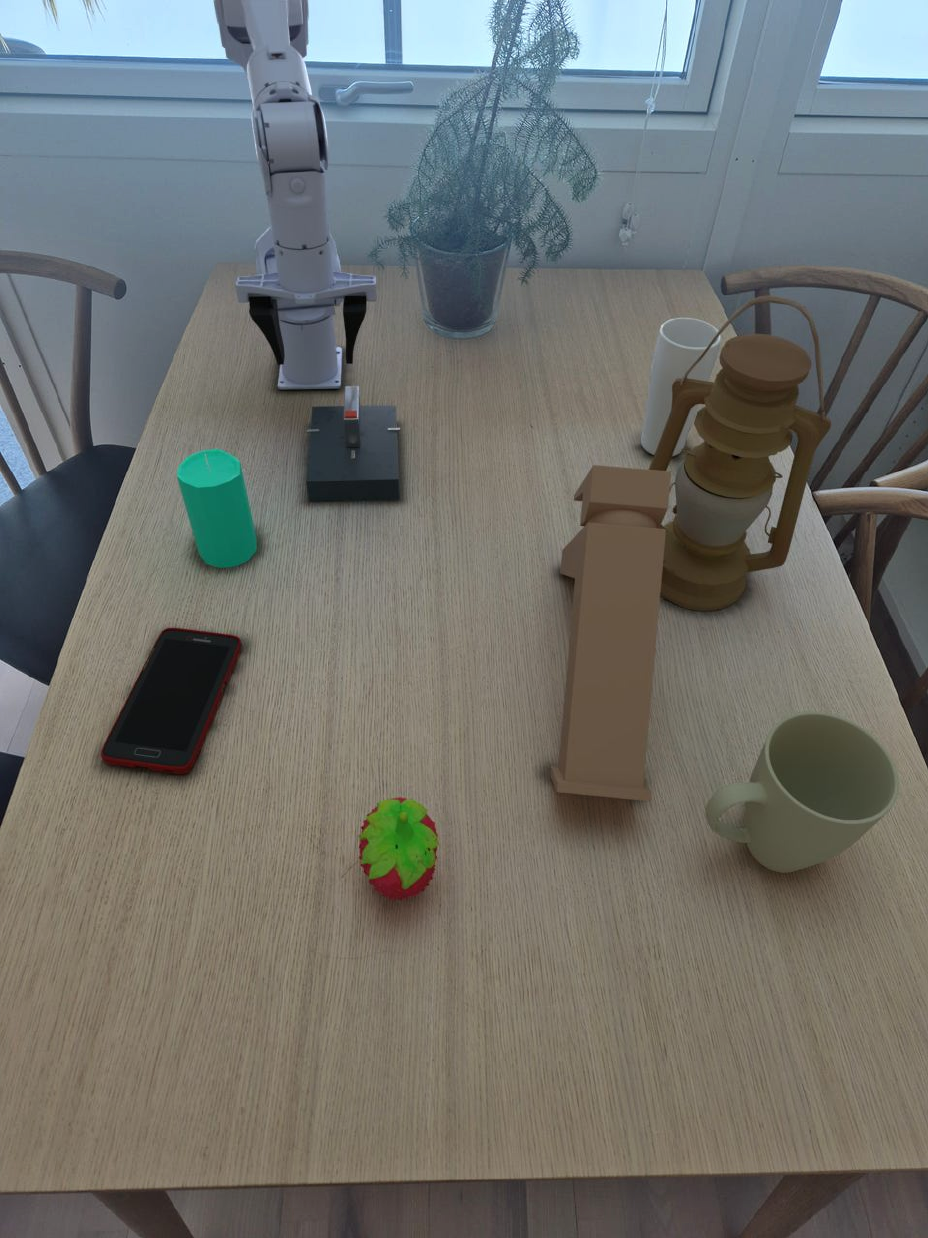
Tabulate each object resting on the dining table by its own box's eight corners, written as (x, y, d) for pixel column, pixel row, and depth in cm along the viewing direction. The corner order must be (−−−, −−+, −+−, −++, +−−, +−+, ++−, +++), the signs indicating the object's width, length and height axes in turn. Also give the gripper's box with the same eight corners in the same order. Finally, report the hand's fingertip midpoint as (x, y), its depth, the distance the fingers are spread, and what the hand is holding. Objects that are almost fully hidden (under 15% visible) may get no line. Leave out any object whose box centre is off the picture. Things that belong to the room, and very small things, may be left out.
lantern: (764, 549, 89) (878, 278, 66) (773, 621, 82) (904, 345, 59) (623, 531, 90) (689, 259, 67) (621, 600, 83) (693, 322, 61)
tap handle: (347, 413, 97) (344, 383, 94) (360, 413, 98) (358, 383, 95) (346, 447, 93) (343, 417, 90) (360, 447, 93) (358, 416, 90)
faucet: (607, 754, 85) (629, 512, 85) (651, 801, 62) (680, 470, 62) (538, 747, 85) (560, 506, 85) (556, 792, 62) (586, 462, 62)
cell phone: (99, 764, 68) (96, 758, 68) (165, 632, 78) (163, 625, 77) (190, 777, 68) (187, 771, 67) (245, 642, 78) (243, 635, 77)
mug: (740, 768, 70) (786, 683, 61) (852, 838, 66) (918, 758, 57) (676, 861, 65) (716, 782, 56) (795, 943, 61) (858, 872, 52)
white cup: (693, 464, 98) (728, 350, 87) (636, 462, 98) (664, 347, 87) (684, 430, 103) (716, 317, 91) (630, 428, 103) (655, 315, 91)
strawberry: (437, 831, 66) (439, 764, 58) (438, 923, 61) (439, 863, 53) (364, 831, 65) (356, 764, 58) (359, 924, 60) (349, 864, 53)
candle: (226, 576, 83) (201, 483, 74) (186, 550, 86) (158, 457, 77) (269, 545, 87) (251, 451, 78) (230, 520, 89) (208, 427, 80)
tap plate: (311, 425, 101) (309, 403, 98) (399, 424, 102) (398, 402, 99) (305, 502, 91) (302, 479, 89) (402, 500, 92) (401, 477, 90)
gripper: (223, 255, 80) (246, 379, 90) (373, 254, 81) (380, 377, 91) (232, 225, 85) (253, 346, 95) (373, 224, 86) (379, 344, 96)
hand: (315, 359), depth 93 cm, fingers open, 7 cm apart
